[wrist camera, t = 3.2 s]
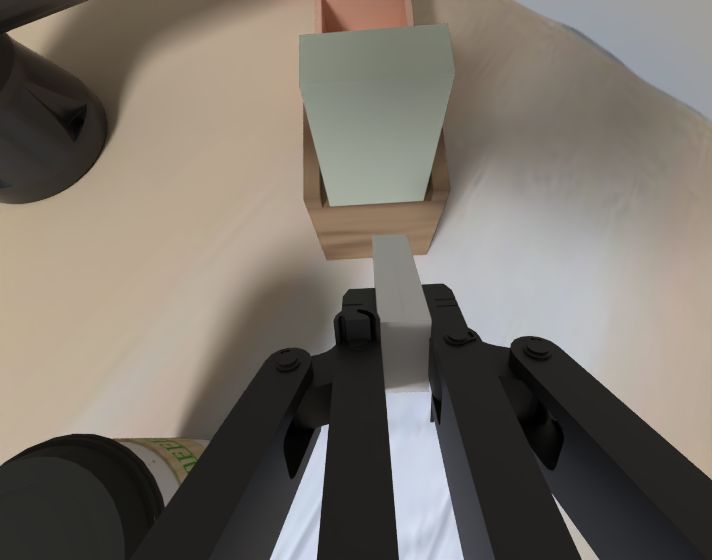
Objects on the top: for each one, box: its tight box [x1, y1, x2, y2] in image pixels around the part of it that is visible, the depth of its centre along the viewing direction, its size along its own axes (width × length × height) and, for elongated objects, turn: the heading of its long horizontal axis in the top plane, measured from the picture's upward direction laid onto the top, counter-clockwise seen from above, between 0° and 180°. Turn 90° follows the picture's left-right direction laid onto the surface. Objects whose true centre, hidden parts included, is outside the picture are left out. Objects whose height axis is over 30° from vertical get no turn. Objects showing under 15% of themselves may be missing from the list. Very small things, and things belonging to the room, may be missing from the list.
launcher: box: [303, 102, 450, 260], centre depth 30 cm, size 16×9×11 cm, turn 2°
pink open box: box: [315, 0, 414, 34], centre depth 37 cm, size 10×9×5 cm
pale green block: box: [299, 23, 455, 207], centre depth 19 cm, size 2×6×10 cm, turn 92°
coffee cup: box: [0, 434, 210, 560], centre depth 22 cm, size 10×10×15 cm
